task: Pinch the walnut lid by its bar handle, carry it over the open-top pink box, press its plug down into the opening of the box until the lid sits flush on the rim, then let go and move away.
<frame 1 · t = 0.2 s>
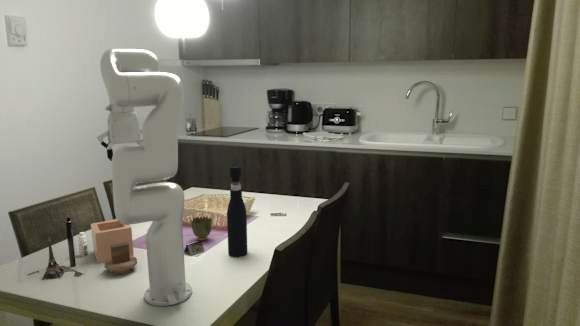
hand: (126, 158, 154), 31 cm above the table, tool pointing down, fingers open, 9 cm apart
open-top pink box: (113, 253, 151), on the table
cup: (202, 240, 162), on the table
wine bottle: (237, 254, 150), on the table
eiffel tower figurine: (55, 277, 136), on the table
lid: (121, 270, 138), on the table
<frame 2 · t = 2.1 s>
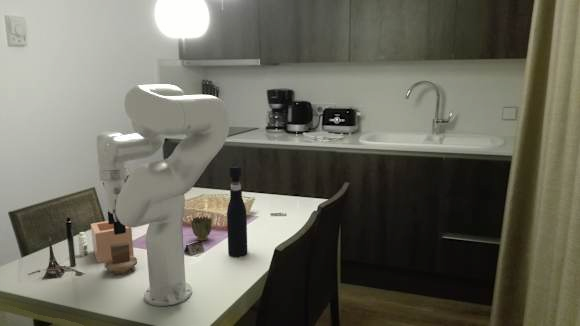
hand: (117, 228, 136), 14 cm above the table, tool pointing down, fingers open, 9 cm apart
nothing on the table moved.
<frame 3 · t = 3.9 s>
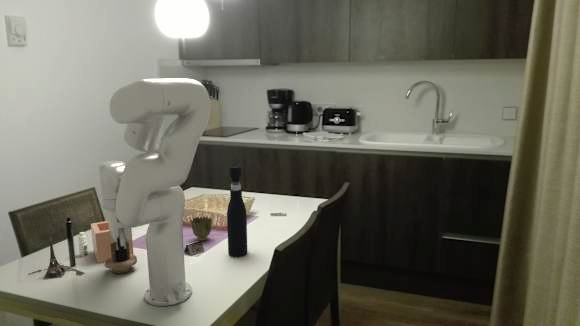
hand: (121, 259, 137), 4 cm above the table, tool pointing down, fingers closed on lid
lid: (121, 268, 138), on the table, touching gripper
everything else where it was.
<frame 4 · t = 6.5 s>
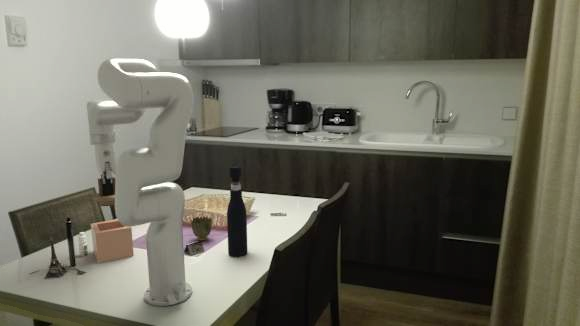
hand: (107, 193, 146), 21 cm above the table, tool pointing down, fingers closed on lid
lid: (108, 203, 147), point 18 cm above the table, touching gripper
everything else where it was.
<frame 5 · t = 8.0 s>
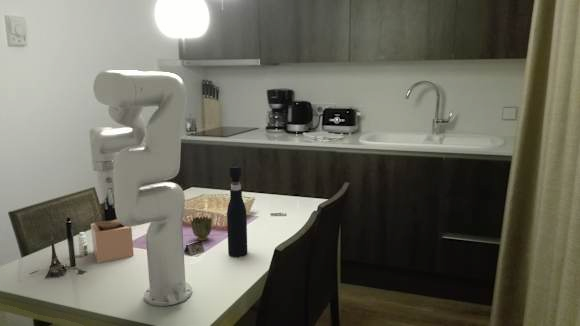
hand: (109, 218, 148), 12 cm above the table, tool pointing down, fingers closed on lid
lid: (110, 227, 149), point 9 cm above the table, touching gripper
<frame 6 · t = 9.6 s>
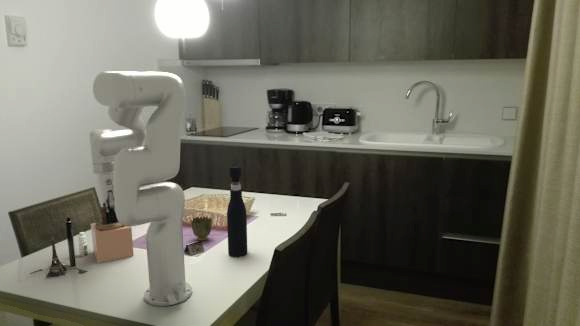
hand: (110, 219, 148), 12 cm above the table, tool pointing down, fingers open, 5 cm apart
lid: (111, 231, 149), point 8 cm above the table, touching open-top pink box
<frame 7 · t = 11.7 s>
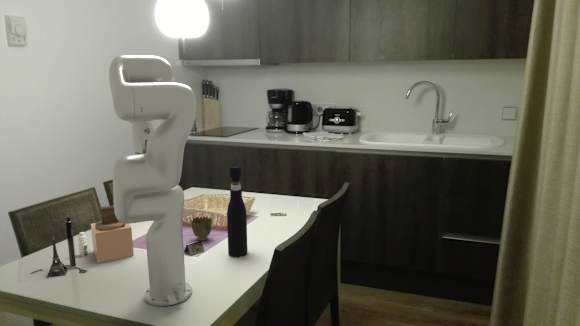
hand: (145, 170, 144), 29 cm above the table, tool pointing down, fingers open, 9 cm apart
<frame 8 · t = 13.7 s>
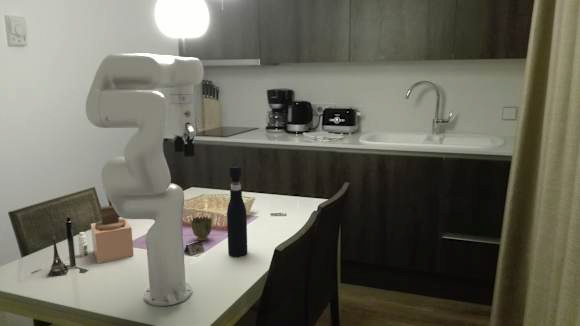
hand: (184, 153, 143), 34 cm above the table, tool pointing down, fingers open, 9 cm apart
at the end: lid 0.1 cm off-centre on the open-top pink box, point 8.0 cm above the open-top pink box's base; lid tilted 0°; the gripper is holding nothing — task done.
